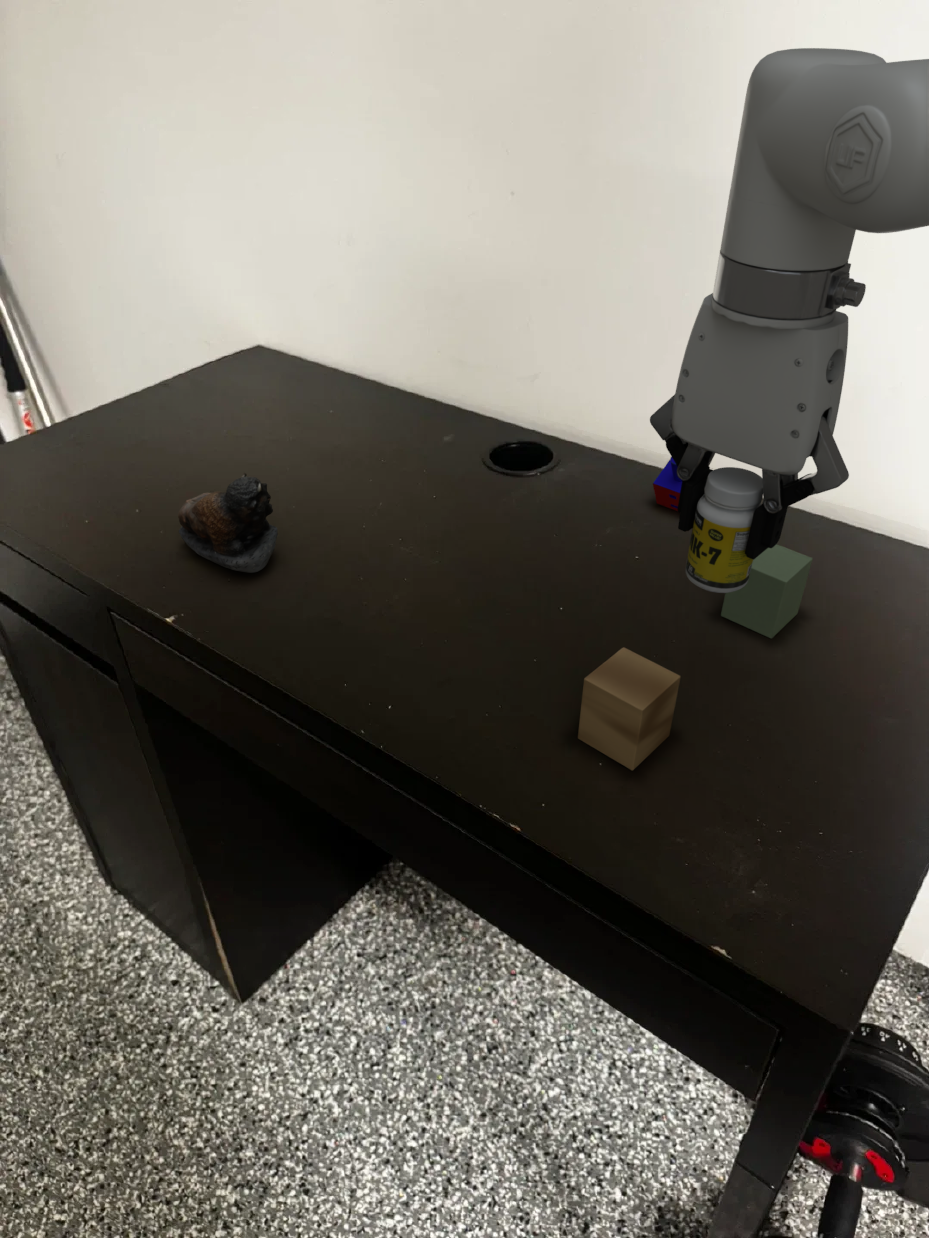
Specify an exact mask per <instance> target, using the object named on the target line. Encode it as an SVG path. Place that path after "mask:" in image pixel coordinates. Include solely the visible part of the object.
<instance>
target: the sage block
mask: <svg viewBox="0 0 929 1238" xmlns="http://www.w3.org/2000/svg"><path fill="white" fill-rule="evenodd" d="M812 563H813V557H810V556H808V555H805V554H803V553H800V552H798V551H795V550H793V549H790V548H787V547H785V546H783V545H780V544H778V543H777V544H776V545H775V546H774V547H773V548H767V549H766V550H765V551H764V552H763V553H761V554H760V555H759V556H758V557H756V558H755V559H754V560H753V563H752V567H751V571H750V575H749V579H748V582H747V584H746V585H745V586H744V587H743V588H741V589H739V590H737V591H734V592H729V593H724V598H723V603H722V608H721V612H720V617H722V618H724V619H727V620H729V621H731V622H734V623H735V624H738V625H741V626H743V627H745V628H747V629H749V630H751V631H753V632H755V633H758V634H760V635H762V636H764V637H766V638H769V639H773V638H774V637H775V636H777V634H778V633H779V632H781V630H782V629H783V628H784V627H785V626H787V625H788V624H789V623H790V622H791V621H792V620H793V619H794V618H795V617H796V616H797V615H798V613H799V610H800V606H801V602H802V599H803V595H804V592H805V588H806V585H807V581H808V577H809V574H810V570H811V567H812Z"/></svg>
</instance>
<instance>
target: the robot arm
mask: <svg viewBox="0 0 929 1238" xmlns="http://www.w3.org/2000/svg"><path fill="white" fill-rule="evenodd" d="M735 152H736V153H735V159H734V165H733V171H732V177H731V182H730V188H729V195H728V200H727V206H726V212H725V219H724V225H723V231H722V235H721V236H722V237H721V243H720V248H719V249H720V250H719V252H718V253H719V254H718V259H717V266H716V272H715V276H714V277H715V278H714V285H713V290H712V293H710V294H708V295H707V296H705V297H704V298H703V300H702V303H701V305H700V307H699V310H698V312H697V314H696V317H695V320H694V323H693V326H692V328H691V331H690V334H689V337H688V340H687V344H686V347H685V351H684V354H683V359H682V362H681V366H680V370H679V374H678V379H677V383H676V387H675V393H674V395H672V396H671V397H670V398H669V399H668V400H667V401H666V402H664V403H663V405H661V406H660V407H659V408H658V409H657V410H656V411H655V412H653V413H652V414H651V415H650V417H649V423H650V425H651V426H652V428H653V429H654V430H655V432H656V433H657V435H658V436H659V437H660V439H661V440H662V441H664V443H665V448H666V450H667V451H668V454H669V455H670V457H671V456H672V458H673V460H674V461H675V463H676V465H677V467H678V468H677V476H678V477H679V478H680V479H681V480H682V485H681V491H680V497H679V503H678V511H677V512H678V513H679V520H678V525H677V529H678V530H679V531H682V532H689V531H690V530H692V529H693V524H694V518H695V513H696V508H697V503H698V501H699V499H700V498H701V497H702V496H703V495H704V494H705V490H704V489H705V486H706V482H707V478H708V475H709V473H710V472H712V471H713V470H714V469H711V467H710V465H711V463H712V461H713V460H714V457H715V455H716V454H717V455H719V456H722V457H725V458H729V459H732V460H734V461H736V462H741V463H743V464H746V465H749V466H751V467H754V468H758V469H761V477H762V480H763V498H762V503H761V505H760V506H759V507H758V508H756V509H755V511H754V514H753V518H752V523H751V527H750V532H749V536H748V541H747V545H746V549H745V554H746V557H748V558H751V559H753V560H754V559H755V558H756V557H758V556H759V555H760V554H761V553H763V552H764V551H765V550H766V549H767V548H773V547H774V546H775V545H776V544H777V545H778V543H779V541H780V539H781V537H782V532H783V528H784V524H785V520H786V515H787V512H788V509H789V508H788V507H790V506H792V505H794V504H796V503H798V502H801V501H802V500H805V499H807V498H808V497H811V496H813V495H818V494H821V493H826V492H827V491H831V490H835V489H837V488H839V487H840V486H842V485H843V484H844V483H845V482H846V481H847V480H848V479H849V477H850V473H849V470H848V468H847V466H846V463H845V461H844V459H843V456H842V454H841V452H840V449H839V447H838V444H837V443H836V440H835V438H834V432H835V428H836V424H837V419H838V413H839V409H840V404H841V398H842V392H843V387H844V380H845V379H844V378H845V372H846V363H847V354H848V343H849V316H848V315H847V314H846V313H844V312H841V311H837V310H838V309H839V308H841V307H842V308H843V307H845V306H850V307H854V308H858V307H859V306H860V304H861V302H862V301H863V299H864V297H865V294H866V290H867V289H866V288H867V287H866V286H867V285H866V284H865V283H864V282H859V281H855V279H854V278H850V270H851V267H852V263H849V259H850V256H851V251H852V247H853V243H854V240H855V235H856V232H857V231H859V232H863V233H868V234H892V233H899V232H904V231H911V230H915V229H919V228H924V227H929V58H924V59H910V60H899V61H890V62H889V61H888V62H887V61H886V60H885V59H884V58H883V57H881V56H879V55H878V54H875V53H872V52H868V51H864V50H863V51H862V50H855V49H847V48H846V49H845V48H827V47H826V48H824V47H821V48H819V47H811V48H810V47H806V48H805V47H804V48H803V47H799V48H789V49H782V50H776V51H774V52H771V53H768V54H766V55H765V56H764V57H762V58H761V59H759V61H758V62H757V63H756V65H755V66H754V68H753V70H752V72H751V74H750V77H749V80H748V83H747V88H746V93H745V98H744V104H743V111H742V116H741V123H740V128H739V134H738V140H737V147H736V151H735ZM809 457H811V458H812V460H813V462H814V465H815V467H816V472H812V473H807V474H805V475H804V476H801V477H799V473H800V472H802V470H803V469H804V466H805V464H806V462H807V459H808V458H809Z"/></svg>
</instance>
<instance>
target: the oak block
mask: <svg viewBox="0 0 929 1238" xmlns="http://www.w3.org/2000/svg"><path fill="white" fill-rule="evenodd" d="M680 681H681V675H680V674H678V673H676V672H674V671H671V670H670V669H667V668H665V667H664V666H661V665H660V664H658V663H656V662H654V661H652V660H650V659H649V658H646V657H644V656H643V655H640V654H639V653H636V652H634V651H632V650H630V649H629V648H626V647H625V646H624V647H621V648H620V649H619V650H618V651H616V652H615V653H614V654H613V655H612V656H611V657H609V658H608V659H607V660H606V661H604V662H602V664H600V665H599V666H598V667H597V668H596V669H594V670H593V671H592V672H590V673H589V674H587V676H585V677H584V679H583V687H582V694H581V705H580V712H579V713H580V714H579V722H578V723H579V724H578V731H577V732H578V733H577V739H578V740H580V741H582V743H585V744H586V745H588V746H590V747H591V748H593V749H595V750H596V751H598V752H600V753H601V754H603V755H605V756H607V757H608V758H610V759H611V760H613V761H615V762H616V763H618V764H620V765H622V766H623V767H625V768H626V769H628V770H630V771H634V770H635V769H636V768H637V767H639V765H640V764H641V763H643V761H645V759H647V758H648V757H649V756H650V755H651V754H652V753H653V752H654V751H655V750H656V749H657V748H659V746H660V745H661V744H663V742H664V741H666V739H667V738H668V737H670V734H671V729H672V724H673V718H674V713H675V712H674V711H675V707H676V702H677V697H678V692H679V686H680Z"/></svg>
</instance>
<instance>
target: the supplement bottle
mask: <svg viewBox="0 0 929 1238" xmlns="http://www.w3.org/2000/svg"><path fill="white" fill-rule="evenodd" d="M712 470H713V471H712V472H710V473H709V475H708V478H707V482H706V486H705V489H704V490H705V494H704V495H703V496H702V497H701V498H700V499H699V501H698V503H697V508H696V513H695V518H694V524H693V528H692V529H691V536H690V541H689V547H688V552H687V557H686V563H685V575H686V577H687V579H688V580H689V581H690V582H691V583H692V584H693V585H695V586H696V587H698V588H700V589H703V591H707V592H711V593H718V594H725V593H729V592H734V591H737V590H739V589H741V588H743V587H744V586H745V585H746V584H747V582H748V579H749V575H750V571H751V567H752V563H753V559H751V558H748V557H746V554H745V549H746V545H747V541H748V536H749V532H750V527H751V523H752V518H753V514H754V511H755V509H756V508H758V507H759V506H760V505H761V504H762V502H763V480H762V475H761V476H760V475H759V474H758V473H756V472H754V471H752V470H749V469H746V468H742V467H735V466H732V467H731V466H725V467H719V468H714V469H712Z"/></svg>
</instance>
